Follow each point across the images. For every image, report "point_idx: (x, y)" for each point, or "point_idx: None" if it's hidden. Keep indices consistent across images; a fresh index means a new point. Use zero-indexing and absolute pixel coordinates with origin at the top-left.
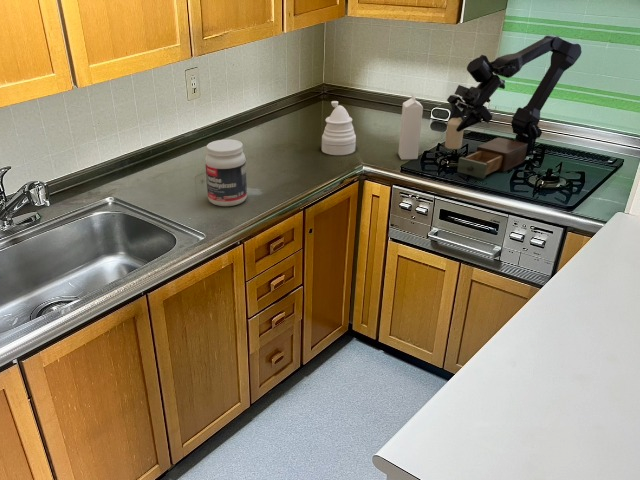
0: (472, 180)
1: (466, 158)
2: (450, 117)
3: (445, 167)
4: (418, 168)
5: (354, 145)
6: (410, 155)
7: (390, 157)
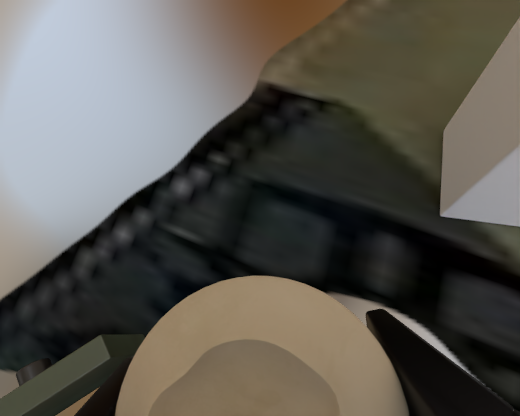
0: None
1: None
2: (447, 396)
3: None
4: (290, 174)
5: None
6: (448, 165)
7: None
